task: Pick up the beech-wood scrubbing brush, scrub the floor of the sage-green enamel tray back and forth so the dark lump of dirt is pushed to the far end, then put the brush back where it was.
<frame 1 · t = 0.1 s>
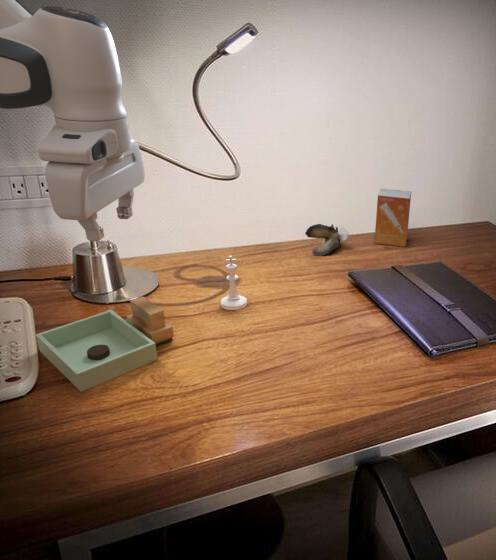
hand: (111, 228, 80), 19 cm above the table, tool pointing down, fingers open, 8 cm apart
grey brown curved piece: (327, 249, 128), on the table
tray: (100, 359, 82), on the table
chess piece: (234, 304, 101), on the table
dirt: (99, 355, 81), point 1 cm above the table, touching tray
brush: (151, 339, 88), on the table
small box: (391, 242, 136), on the table
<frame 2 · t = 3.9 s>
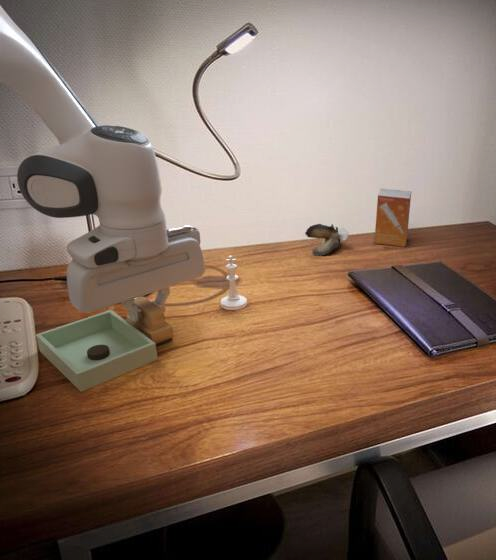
hand: (148, 315, 86), 5 cm above the table, tool pointing down, fingers closed on brush, 2 cm apart
brush: (151, 339, 88), on the table, touching gripper
everything else where it was.
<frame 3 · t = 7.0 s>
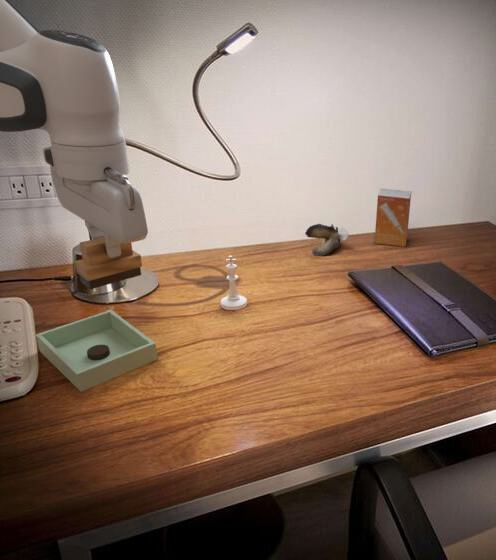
hand: (107, 251, 79), 16 cm above the table, tool pointing down, fingers closed on brush, 2 cm apart
brush: (111, 278, 81), point 12 cm above the table, touching gripper
everything else where it was.
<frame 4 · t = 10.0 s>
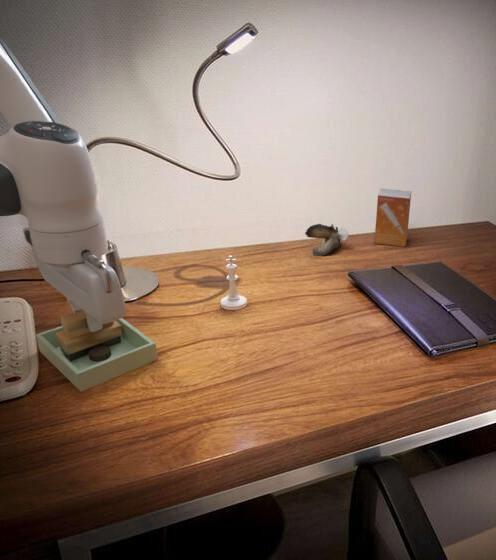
hand: (89, 324, 81), 5 cm above the table, tool pointing down, fingers closed on brush, 2 cm apart
dirt: (100, 356, 81), point 1 cm above the table, touching brush, tray
brush: (91, 346, 83), point 1 cm above the table, tilted 7°, touching dirt, gripper, tray
everything else where it was.
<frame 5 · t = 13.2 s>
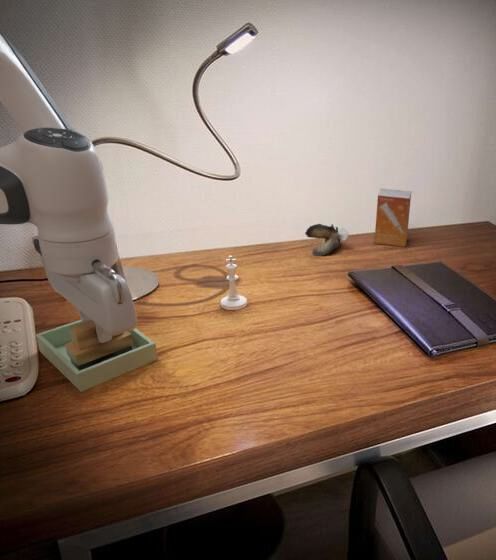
hand: (98, 335, 79), 5 cm above the table, tool pointing down, fingers closed on brush, 2 cm apart
dirt: (112, 367, 79), point 1 cm above the table, touching tray
brush: (102, 358, 81), point 1 cm above the table, touching gripper
everything else where it was.
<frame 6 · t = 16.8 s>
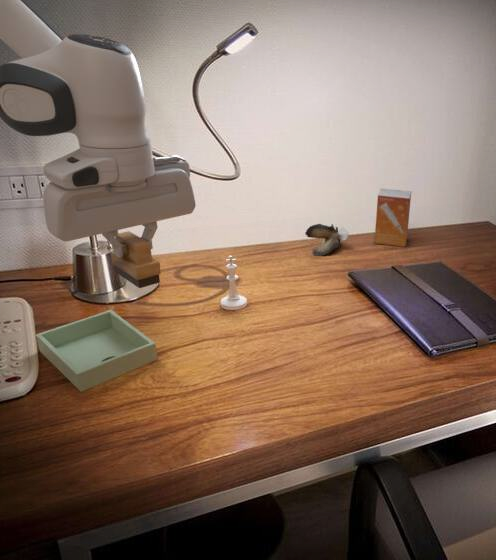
hand: (133, 252, 80), 16 cm above the table, tool pointing down, fingers closed on brush, 2 cm apart
brush: (137, 277, 82), point 12 cm above the table, touching gripper
everything else where it was.
when the fingers open (4 cm above the table, at t = 19.7 s): brush stays where it is, on the table.
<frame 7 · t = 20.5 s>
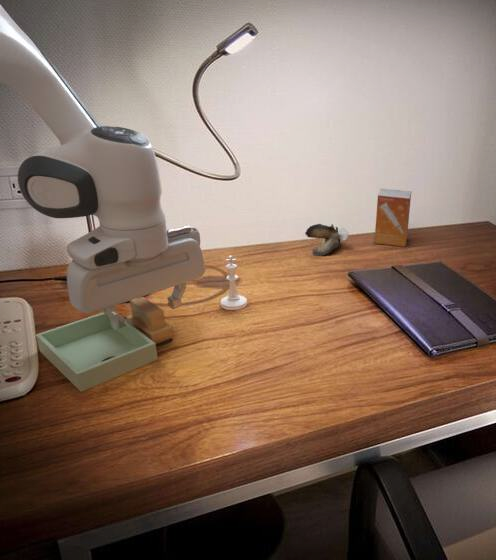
hand: (148, 316, 86), 4 cm above the table, tool pointing down, fingers open, 8 cm apart
brush: (151, 339, 88), on the table
everything else where it was.
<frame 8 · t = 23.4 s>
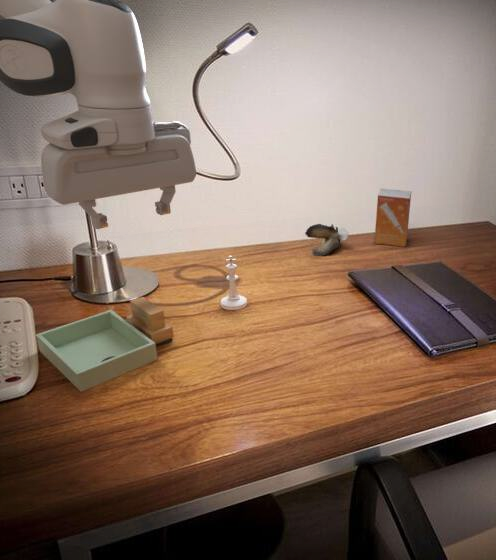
hand: (133, 220, 79), 21 cm above the table, tool pointing down, fingers open, 8 cm apart
nothing on the table moved.
at the end: dirt inside the target area in the tray (0.2 cm from its centre), point 0.8 cm above the tray's base; brush inside the target area (0.3 cm from its centre), on the table; the gripper is holding nothing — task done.
